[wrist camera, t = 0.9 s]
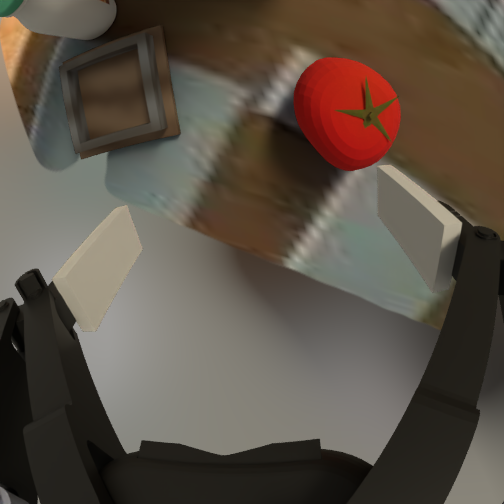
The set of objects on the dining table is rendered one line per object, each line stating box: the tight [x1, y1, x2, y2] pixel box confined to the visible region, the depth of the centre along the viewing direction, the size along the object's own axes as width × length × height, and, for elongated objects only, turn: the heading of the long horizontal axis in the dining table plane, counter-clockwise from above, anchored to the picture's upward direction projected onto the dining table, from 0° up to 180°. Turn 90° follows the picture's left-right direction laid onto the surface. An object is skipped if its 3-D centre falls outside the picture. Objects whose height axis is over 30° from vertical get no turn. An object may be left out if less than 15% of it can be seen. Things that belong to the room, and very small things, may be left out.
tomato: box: [294, 58, 401, 171], centre depth 31 cm, size 12×14×12 cm
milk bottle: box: [0, 0, 116, 40], centre depth 20 cm, size 8×8×20 cm
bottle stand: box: [59, 25, 181, 159], centre depth 33 cm, size 16×16×4 cm
